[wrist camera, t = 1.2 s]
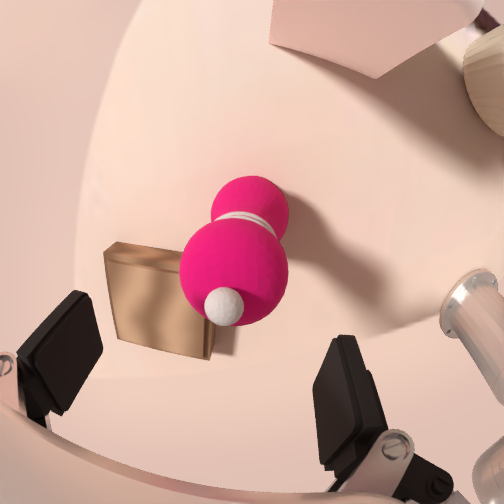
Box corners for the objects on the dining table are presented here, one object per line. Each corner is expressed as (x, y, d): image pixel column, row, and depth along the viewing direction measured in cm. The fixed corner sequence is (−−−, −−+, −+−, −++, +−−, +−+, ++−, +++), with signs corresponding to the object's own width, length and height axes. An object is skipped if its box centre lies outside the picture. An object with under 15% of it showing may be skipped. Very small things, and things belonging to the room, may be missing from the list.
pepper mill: (288, 233, 31) (305, 372, 12) (224, 237, 31) (166, 370, 13) (284, 168, 28) (306, 231, 10) (216, 174, 29) (122, 245, 10)
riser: (220, 257, 33) (213, 273, 29) (213, 344, 38) (208, 363, 35) (116, 241, 33) (100, 254, 29) (126, 325, 38) (115, 341, 35)
